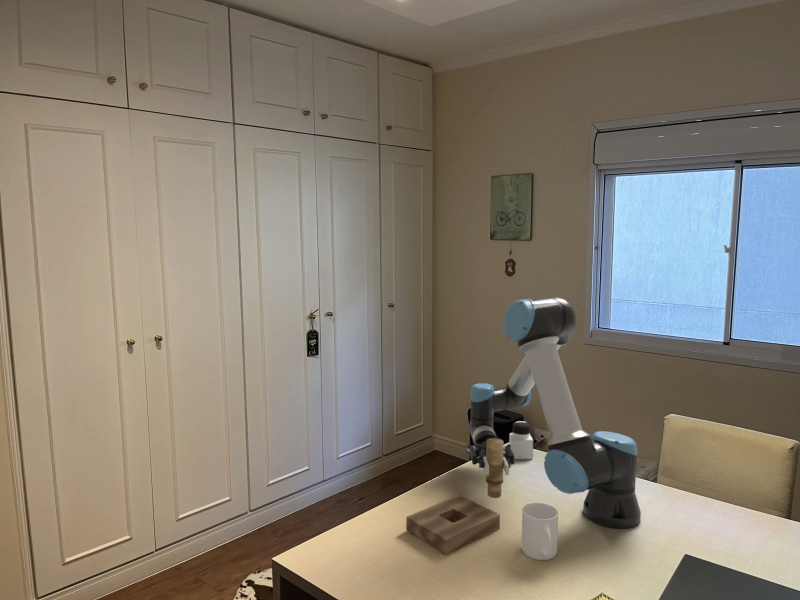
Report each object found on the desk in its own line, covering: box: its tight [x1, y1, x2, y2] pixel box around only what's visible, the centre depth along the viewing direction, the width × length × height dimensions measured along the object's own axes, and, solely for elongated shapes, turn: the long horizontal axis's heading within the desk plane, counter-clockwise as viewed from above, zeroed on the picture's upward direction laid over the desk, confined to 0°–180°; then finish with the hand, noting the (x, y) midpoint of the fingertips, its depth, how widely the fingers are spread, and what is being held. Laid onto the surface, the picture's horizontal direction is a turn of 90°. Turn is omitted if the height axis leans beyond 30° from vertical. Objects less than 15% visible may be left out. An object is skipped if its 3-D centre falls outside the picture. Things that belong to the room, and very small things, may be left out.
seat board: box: [405, 494, 501, 556], centre depth 155 cm, size 15×20×4 cm
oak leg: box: [485, 437, 504, 499], centre depth 166 cm, size 5×5×16 cm
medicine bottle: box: [508, 420, 534, 460], centre depth 206 cm, size 7×7×12 cm
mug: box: [521, 502, 559, 561], centre depth 142 cm, size 9×12×11 cm
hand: (497, 470), depth 161 cm, fingers closed on oak leg, 5 cm apart
